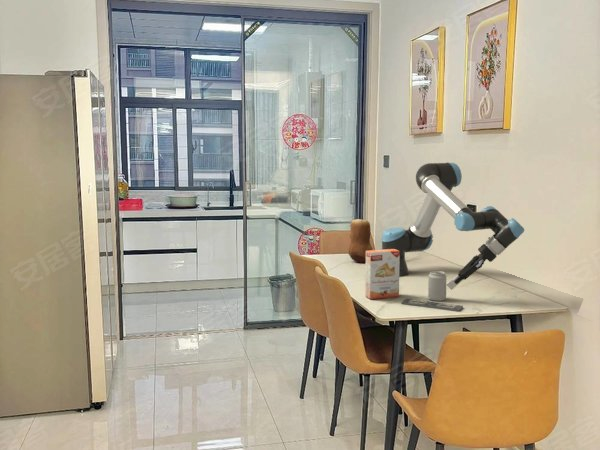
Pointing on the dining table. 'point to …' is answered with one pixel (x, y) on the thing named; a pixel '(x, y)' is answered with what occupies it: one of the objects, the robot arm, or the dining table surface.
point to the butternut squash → (359, 240)
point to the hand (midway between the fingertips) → (449, 287)
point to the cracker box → (382, 273)
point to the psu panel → (432, 305)
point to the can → (437, 286)
